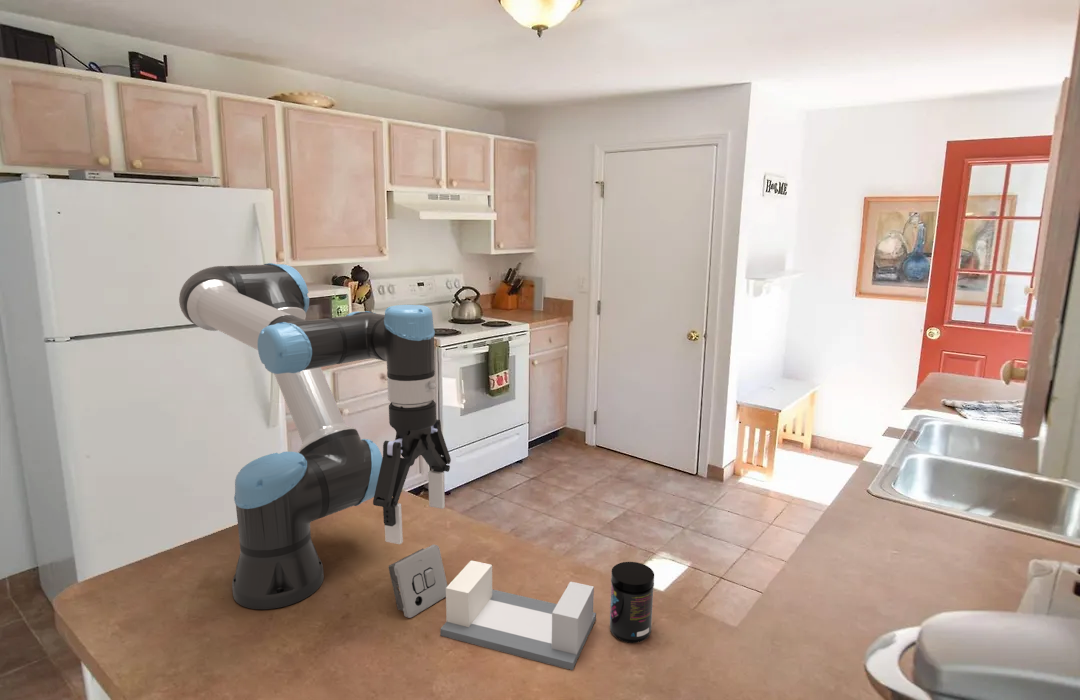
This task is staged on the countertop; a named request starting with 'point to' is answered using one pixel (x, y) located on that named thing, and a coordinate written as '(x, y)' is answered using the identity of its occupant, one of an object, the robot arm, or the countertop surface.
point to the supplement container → (631, 601)
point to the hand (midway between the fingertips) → (416, 523)
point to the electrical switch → (418, 580)
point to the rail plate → (518, 618)
